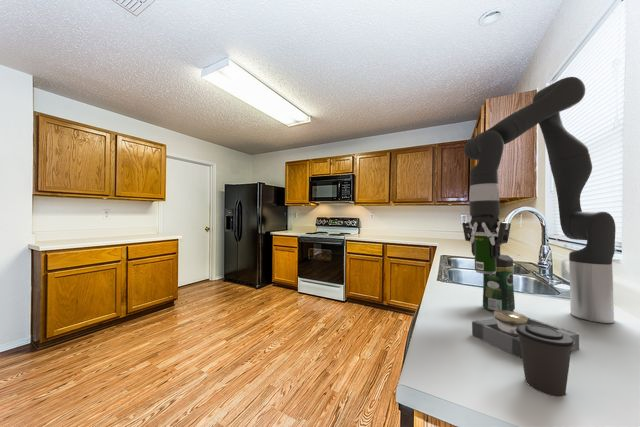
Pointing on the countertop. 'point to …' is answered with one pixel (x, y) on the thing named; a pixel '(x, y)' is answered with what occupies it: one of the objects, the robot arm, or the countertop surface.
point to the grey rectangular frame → (508, 343)
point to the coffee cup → (545, 358)
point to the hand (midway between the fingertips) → (485, 256)
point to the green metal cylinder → (483, 254)
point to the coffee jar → (499, 286)
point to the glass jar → (509, 321)
